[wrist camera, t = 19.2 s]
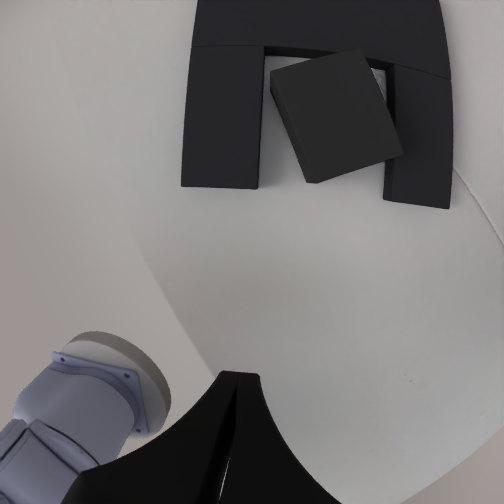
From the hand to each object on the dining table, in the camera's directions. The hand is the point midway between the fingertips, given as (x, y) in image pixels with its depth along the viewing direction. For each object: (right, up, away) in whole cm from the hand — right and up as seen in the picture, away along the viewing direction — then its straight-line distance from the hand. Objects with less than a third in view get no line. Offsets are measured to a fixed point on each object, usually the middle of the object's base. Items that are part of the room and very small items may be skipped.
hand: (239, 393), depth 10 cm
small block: (+5, +13, +6) cm, 15 cm away
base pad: (+5, +16, +6) cm, 18 cm away
